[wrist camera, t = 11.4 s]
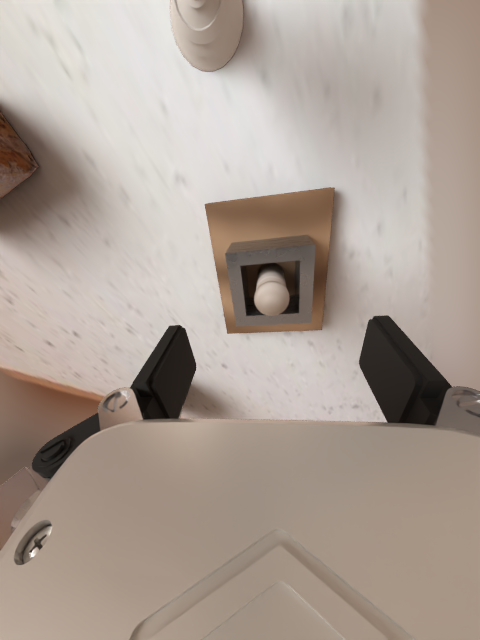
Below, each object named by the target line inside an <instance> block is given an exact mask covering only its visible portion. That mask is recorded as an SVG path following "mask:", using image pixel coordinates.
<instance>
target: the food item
mask: <svg viewBox="0 0 480 640" xmlns="http://www.w3.org/2000/svg"><path fill="white" fill-rule="evenodd" d="M38 168H39V167H38V165H37V163H36V161H35V160H34V159H33V157H32V156H31V152H30V151H29V149H28V148H27V146H26V145H25V144H24V143H23V141H22V140H21V139H20V138H19V137H18V135H17V134H16V133H15V131H14V130H13V128H12V127H11V126H10V124H9V123H8V122H7V120H6V119H5V118H4V116H3V115H2V113H1V112H0V198H2V197H3V196H5V195H6V194H7V193H9V192H10V191H11V190H12V189H13V188H14V187H16V186H17V185H19V184H20V183H21V182H23V181H24V180H25V179H27V178H28V177H29V176H31V175H32V174H33V173H34V171H35V170H36V169H38Z"/></svg>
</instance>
